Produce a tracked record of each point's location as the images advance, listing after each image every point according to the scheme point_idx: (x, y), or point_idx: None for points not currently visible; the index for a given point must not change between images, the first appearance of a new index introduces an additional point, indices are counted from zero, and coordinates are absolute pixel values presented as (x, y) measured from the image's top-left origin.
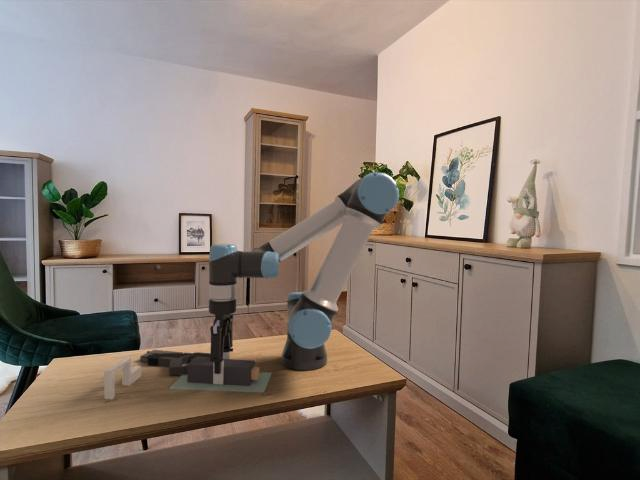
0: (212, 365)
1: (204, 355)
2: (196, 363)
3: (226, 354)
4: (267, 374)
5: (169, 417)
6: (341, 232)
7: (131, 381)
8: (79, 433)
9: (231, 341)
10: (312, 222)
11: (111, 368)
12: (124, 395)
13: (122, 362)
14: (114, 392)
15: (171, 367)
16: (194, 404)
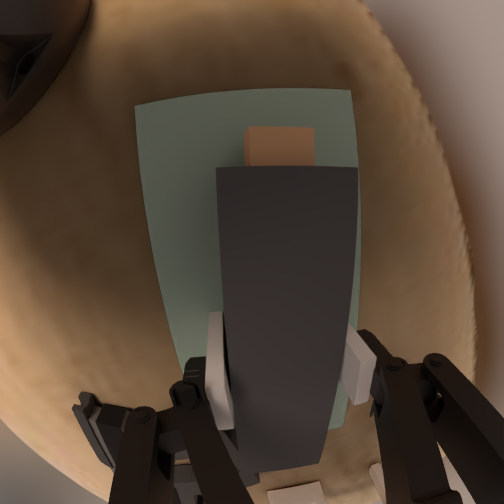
0: (333, 393)
1: (114, 446)
2: (309, 448)
3: (227, 396)
4: (160, 119)
5: (463, 334)
6: None
7: (312, 487)
8: None
9: (152, 445)
10: None
11: None
12: (356, 463)
13: None
14: (375, 472)
15: (258, 480)
16: (424, 318)
